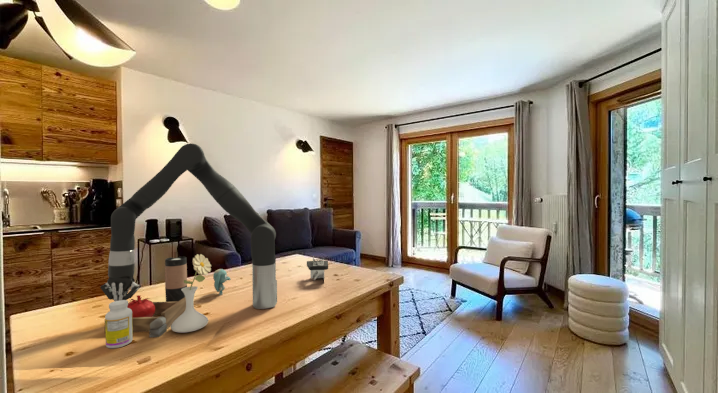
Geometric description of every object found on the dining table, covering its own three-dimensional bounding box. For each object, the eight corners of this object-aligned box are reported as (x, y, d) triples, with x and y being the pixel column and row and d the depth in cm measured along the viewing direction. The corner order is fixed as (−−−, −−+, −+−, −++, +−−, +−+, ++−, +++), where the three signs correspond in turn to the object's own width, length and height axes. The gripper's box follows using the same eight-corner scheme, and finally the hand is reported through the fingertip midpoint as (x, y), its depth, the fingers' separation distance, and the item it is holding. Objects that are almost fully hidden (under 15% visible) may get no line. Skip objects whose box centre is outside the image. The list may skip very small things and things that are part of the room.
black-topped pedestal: (293, 276, 173) (293, 252, 173) (341, 275, 176) (341, 251, 176) (288, 293, 145) (288, 264, 145) (344, 290, 148) (344, 262, 148)
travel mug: (177, 311, 123) (176, 260, 122) (160, 310, 124) (160, 259, 124) (191, 304, 130) (191, 256, 130) (175, 303, 132) (175, 256, 131)
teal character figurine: (230, 298, 138) (230, 270, 138) (212, 300, 136) (212, 272, 136) (230, 290, 148) (230, 265, 148) (214, 292, 146) (213, 267, 146)
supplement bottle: (115, 339, 100) (114, 299, 99) (137, 338, 100) (136, 298, 100) (99, 349, 93) (99, 306, 93) (123, 348, 93) (123, 305, 93)
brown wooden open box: (189, 312, 122) (189, 296, 122) (159, 337, 101) (158, 318, 101) (136, 313, 121) (136, 298, 120) (94, 339, 100) (94, 320, 100)
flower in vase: (182, 339, 99) (181, 260, 99) (163, 331, 105) (162, 256, 105) (219, 324, 110) (219, 253, 110) (200, 317, 116) (200, 250, 116)
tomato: (159, 321, 114) (162, 295, 115) (128, 329, 106) (131, 301, 106) (145, 314, 119) (148, 289, 120) (114, 321, 111) (117, 294, 111)
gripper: (147, 261, 116) (145, 307, 116) (110, 259, 116) (108, 307, 116) (134, 265, 109) (132, 315, 109) (94, 264, 108) (92, 314, 108)
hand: (119, 310), depth 112 cm, fingers closed
